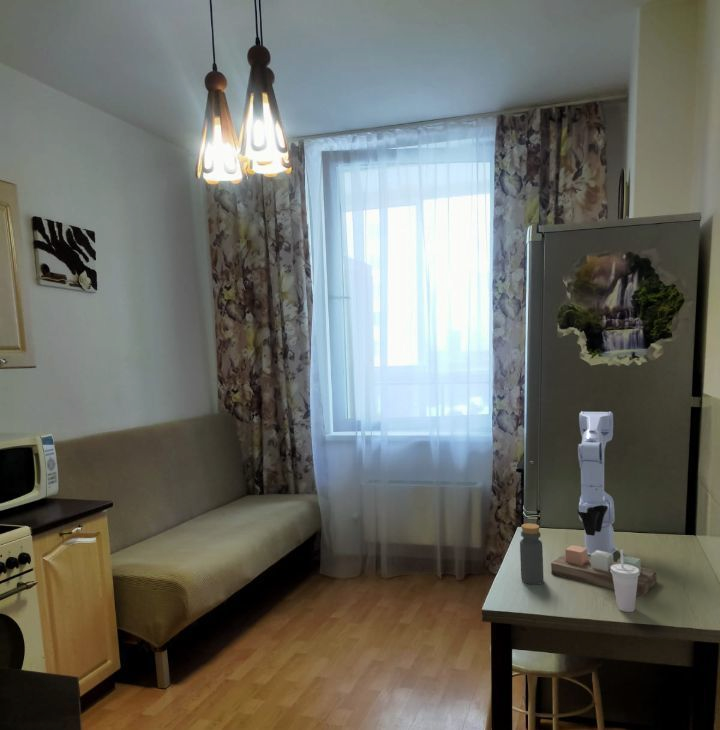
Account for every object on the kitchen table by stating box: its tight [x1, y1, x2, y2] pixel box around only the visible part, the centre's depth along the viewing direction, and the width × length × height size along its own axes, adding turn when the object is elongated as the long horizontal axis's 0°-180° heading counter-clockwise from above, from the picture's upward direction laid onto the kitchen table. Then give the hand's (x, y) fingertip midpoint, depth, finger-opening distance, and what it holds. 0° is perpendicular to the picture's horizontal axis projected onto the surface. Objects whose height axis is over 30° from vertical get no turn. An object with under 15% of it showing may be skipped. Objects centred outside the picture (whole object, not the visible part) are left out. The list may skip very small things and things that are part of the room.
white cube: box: [590, 550, 614, 572], centre depth 155 cm, size 4×4×4 cm
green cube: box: [616, 555, 642, 574], centre depth 150 cm, size 4×4×4 cm
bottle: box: [519, 522, 544, 585], centre depth 155 cm, size 6×6×15 cm
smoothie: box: [610, 549, 640, 613], centre depth 136 cm, size 6×6×14 cm
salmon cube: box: [564, 544, 589, 566], centre depth 160 cm, size 4×4×4 cm
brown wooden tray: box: [550, 552, 658, 597], centre depth 155 cm, size 11×24×3 cm, turn 47°
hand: (593, 533), depth 160 cm, fingers open, 4 cm apart
